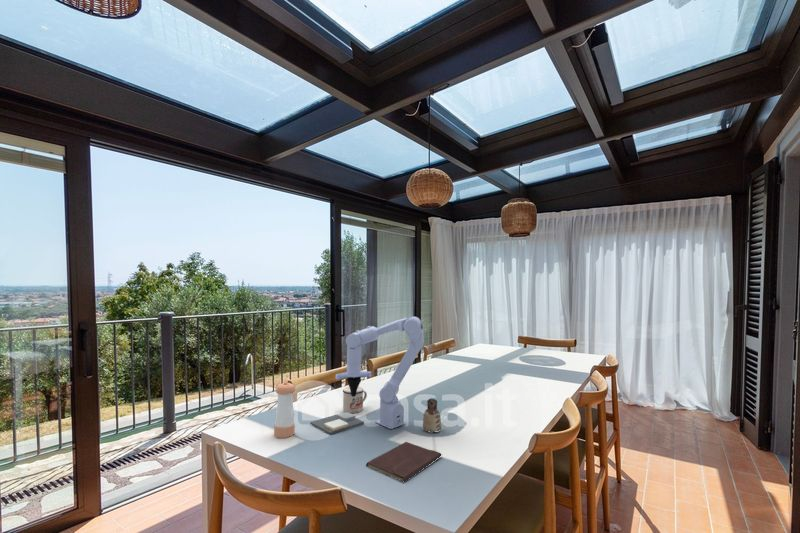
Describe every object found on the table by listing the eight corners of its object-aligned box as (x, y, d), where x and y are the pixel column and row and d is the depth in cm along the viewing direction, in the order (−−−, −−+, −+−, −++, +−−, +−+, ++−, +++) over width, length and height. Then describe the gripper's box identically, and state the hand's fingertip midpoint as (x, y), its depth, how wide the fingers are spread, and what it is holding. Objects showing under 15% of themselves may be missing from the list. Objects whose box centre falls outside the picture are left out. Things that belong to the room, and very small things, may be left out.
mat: (363, 423, 150) (364, 421, 150) (330, 434, 139) (330, 432, 139) (343, 414, 160) (343, 412, 160) (310, 424, 149) (310, 422, 149)
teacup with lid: (350, 415, 160) (351, 387, 160) (338, 409, 166) (338, 382, 167) (372, 408, 168) (372, 382, 168) (360, 403, 175) (360, 378, 175)
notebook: (366, 467, 116) (366, 460, 116) (405, 446, 132) (405, 440, 132) (404, 484, 107) (404, 477, 107) (441, 459, 122) (441, 453, 122)
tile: (339, 422, 150) (348, 426, 145) (324, 426, 145) (333, 431, 140) (339, 419, 150) (348, 423, 145) (324, 423, 145) (333, 428, 140)
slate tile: (355, 418, 153) (355, 415, 153) (345, 421, 150) (345, 418, 150) (346, 414, 158) (346, 411, 158) (336, 417, 154) (336, 414, 154)
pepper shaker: (273, 431, 141) (275, 380, 142) (293, 429, 144) (294, 378, 145) (274, 439, 135) (275, 385, 135) (295, 436, 137) (296, 383, 138)
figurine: (442, 427, 148) (442, 396, 148) (439, 434, 141) (439, 401, 142) (424, 425, 150) (425, 394, 150) (421, 431, 143) (421, 400, 143)
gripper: (338, 365, 148) (337, 400, 148) (373, 363, 153) (373, 396, 153) (334, 361, 155) (334, 395, 154) (368, 359, 160) (368, 392, 160)
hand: (353, 395), depth 154 cm, fingers closed
